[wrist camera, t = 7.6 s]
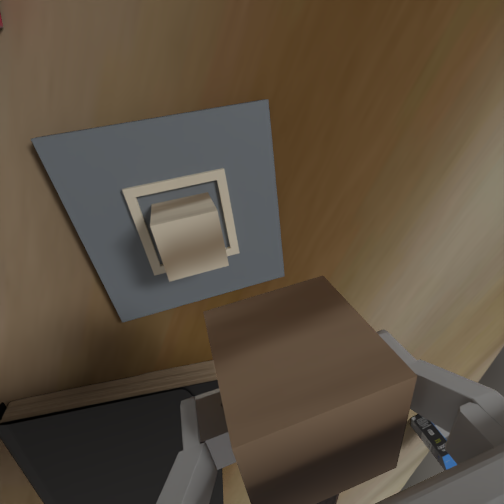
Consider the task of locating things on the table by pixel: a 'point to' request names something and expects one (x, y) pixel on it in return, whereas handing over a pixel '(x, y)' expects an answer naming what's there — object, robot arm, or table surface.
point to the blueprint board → (169, 188)
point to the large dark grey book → (105, 437)
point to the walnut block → (307, 393)
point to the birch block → (188, 236)
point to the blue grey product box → (433, 439)
